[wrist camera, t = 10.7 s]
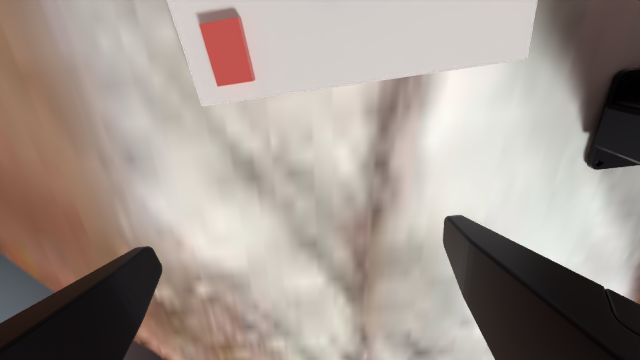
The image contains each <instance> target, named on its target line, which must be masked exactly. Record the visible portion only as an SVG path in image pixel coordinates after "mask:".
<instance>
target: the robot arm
mask: <svg viewBox="0 0 640 360" xmlns="http://www.w3.org/2000/svg"><path fill="white" fill-rule="evenodd" d="M624 77H626V79H625V80H624V81H623V79H624ZM597 161H598V162H597ZM587 165H588V166H589V167H591V168H593V169H596V170H599V169H608V168H617V167H626V166H635V165H640V68H633V69H626V70H622V71H620V72H618V73H617V74H616V75H615V76H614V78H613V80H612V83H611V87H610V90H609V93H608V96H607V99H606V103H605V106H604V109H603V112H602V116H601V119H600V122H599V125H598V129H597V132H596V135H595V138H594V142H593V145H592V148H591V151H590V154H589V158H588V161H587ZM443 244H444V248H445V250H446V253H447V256H448V258H449V261H450V264H451V266H452V269H453V272H454V274H455V277H456V280H457V282H458V285H459V288H460V290H461V293H462V295H463V297H464V299H465V301H466V304H467V306H468V308H469V309H470V311H471V313H472V315H473V317H474V319H475V321H476V323H477V325H478V327H479V329H480V331H481V333H482V335H483V337H484V339H485V341H486V343H487V345H488V347H489V349H490V351H491V353H492V355H493V357H494V358H495V360H640V304H638V303H636V302H634V301H632V300H630V299H628V298H626V297H624V296H622V295H620V294H618V293H616V292H614V291H612V290H610V289H605V288H604V287H603V286H602V285H600V284H598V283H596V282H594V281H592V280H590V279H588V278H586V277H584V276H582V275H580V274H578V273H576V272H574V271H572V270H570V269H568V268H566V267H564V266H562V265H560V264H558V263H556V262H554V261H552V260H550V259H548V258H546V257H544V256H542V255H540V254H538V253H536V252H534V251H532V250H530V249H528V248H526V247H524V246H522V245H520V244H518V243H516V242H514V241H512V240H510V239H508V238H506V237H504V236H502V235H500V234H498V233H496V232H494V231H492V230H490V229H488V228H486V227H484V226H482V225H480V224H478V223H476V222H474V221H472V220H470V219H468V218H466V217H464V216H462V215H454V216H447V217H446V218H445V220H444V233H443ZM161 274H162V265H161V263H160V261H159V259H158V257H157V255H156V253H155V251H154V250H153V248H151V247H149V246H145V247H137V248H134V249H132V250H131V251H129V252H127V253H125V254H124V255H122V256H120V257H118V258H116V259H115V260H113V261H111V262H109V263H107V264H106V265H104V266H102V267H100V268H98V269H97V270H95V271H93V272H91V273H90V274H88V275H86V276H84V277H82V278H81V279H79V280H77V281H75V282H73V283H72V284H70V285H68V286H66V287H64V288H63V289H61V290H59V291H57V292H56V293H54V294H52V295H50V296H48V297H47V298H45V299H43V300H41V301H39V302H38V303H36V304H34V305H32V306H31V307H29V308H27V309H25V310H23V311H21V312H20V313H18V314H16V315H14V316H13V317H11V318H9V319H7V320H5V321H4V322H2V323H0V360H124V358H125V356H126V354H127V352H128V350H129V348H130V346H131V344H132V342H133V340H134V338H135V336H136V334H137V332H138V330H139V328H140V326H141V323H142V321H143V319H144V317H145V314H146V312H147V309H148V307H149V304H150V302H151V299H152V297H153V294H154V292H155V289H156V287H157V284H158V282H159V279H160V276H161Z"/></svg>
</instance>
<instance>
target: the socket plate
mask: <svg viewBox="0 0 640 360" xmlns="http://www.w3.org/2000/svg"><path fill="white" fill-rule="evenodd" d="M537 1H538V0H167V2H168V6H169V9H170V12H171V15H172V18H173V21H174V24H175V27H176V30H177V33H178V36H179V39H180V42H181V45H182V48H183V51H184V54H185V57H186V60H187V63H188V66H189V69H190V72H191V75H192V78H193V81H194V84H195V87H196V90H197V93H198V96H199V99H200V102H201V105H202V107H203V106H210V105H217V104H224V103H231V102H237V101H244V100H251V99H258V98H265V97H272V96H278V95H285V94H292V93H299V92H306V91H313V90H319V89H326V88H333V87H340V86H347V85H354V84H360V83H367V82H374V81H381V80H388V79H395V78H401V77H408V76H415V75H422V74H429V73H436V72H442V71H449V70H456V69H463V68H470V67H477V66H483V65H490V64H497V63H504V62H511V61H518V60H524V59H528V53H529V47H530V42H531V36H532V30H533V24H534V19H535V13H536V7H537Z"/></svg>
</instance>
